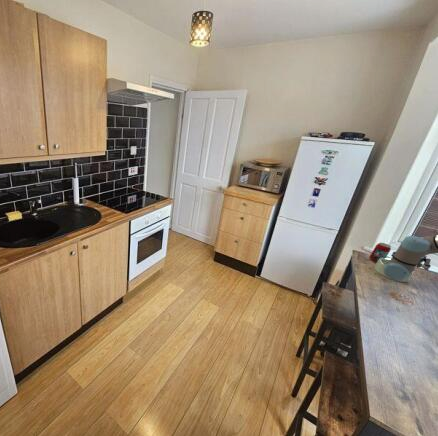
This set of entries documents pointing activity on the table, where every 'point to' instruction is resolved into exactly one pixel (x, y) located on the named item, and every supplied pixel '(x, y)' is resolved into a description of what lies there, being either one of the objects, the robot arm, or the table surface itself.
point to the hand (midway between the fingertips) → (419, 253)
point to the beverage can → (380, 252)
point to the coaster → (401, 298)
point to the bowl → (382, 263)
